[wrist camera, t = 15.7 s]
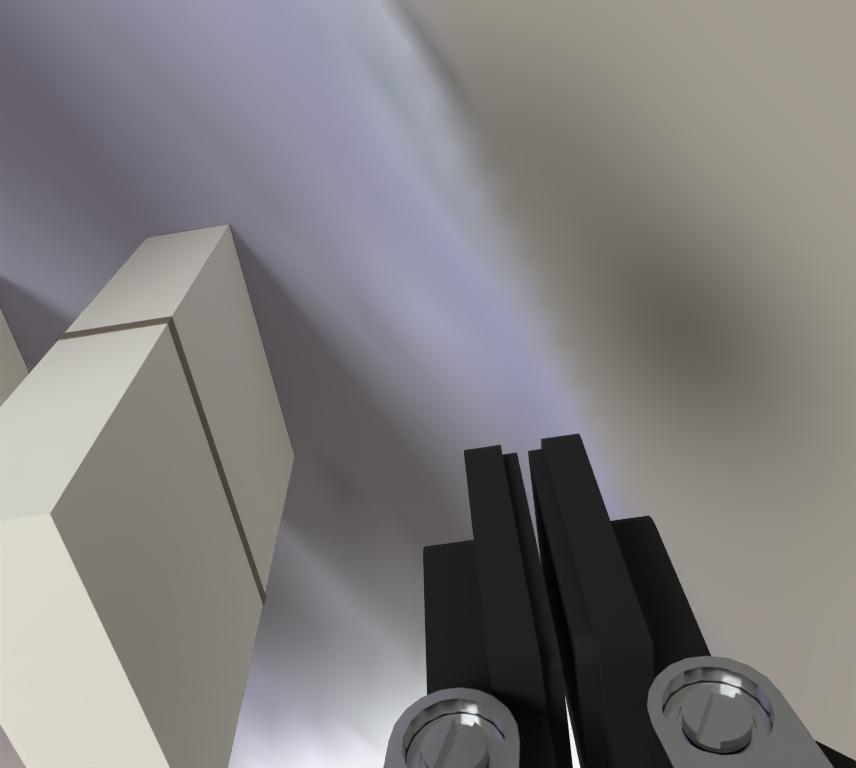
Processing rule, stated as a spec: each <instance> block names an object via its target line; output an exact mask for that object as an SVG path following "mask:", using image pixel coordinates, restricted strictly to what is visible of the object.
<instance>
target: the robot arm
mask: <svg viewBox="0 0 856 768" xmlns="http://www.w3.org/2000/svg"><path fill="white" fill-rule="evenodd" d="M541 447H542V449H539V450H532V451H528V455H529V465H530V473H531V482H532V490H533V499H534V507H535V516H536V525H537V533H538V542H539V550H540V558H539V553H538V549H537V544H536V539H535V535H534V530H533V525H532V521H531V516H530V512H529V507H528V502H527V498H526V493H525V488H524V484H523V479H522V474H521V470H520V465H519V461H518V456H517V453H511V454H504V455H502V450H501V445H496V446H489V447H483V448H476V449H469V450H464V457H465V466H466V474H467V483H468V492H469V501H470V510H471V519H472V527H473V536H474V540H469V541H462V542H455V543H448V544H441V545H433V546H426V547H424V550H423V564H424V599H425V634H426V669H427V696H424V697H422V698H420V699H419V700H418V701H416V702H415V703H414V704H412V705H411V706H410V707H408V708H407V709H406V710H405V711H404V713H403V714H402V715H401V717H400V718H399V719H398V721H397V722H396V723H395V725H394V728H393V731H392V733H391V736H390V739H389V742H388V747H387V752H386V758H385V763H384V768H573V765H572V756H571V747H570V738H569V729H568V720H567V711H566V702H567V707H568V711H569V716H570V721H571V726H572V730H573V735H574V740H575V745H576V749H577V754H578V759H579V764H580V768H856V761H855V760H853V759H851V758H849V757H847V756H845V755H843V754H841V753H839V752H837V751H835V750H833V749H831V748H829V747H827V746H825V745H823V744H821V743H819V742H817V741H815V740H814V739H813V738H812V736H811V735H810V733H809V732H808V731H807V729H806V727H805V726H804V725H803V723H802V722H801V720H800V719H799V718H798V716H797V715H796V713H795V712H794V711H793V709H792V708H791V706H790V705H789V703H788V702H787V700H786V699H785V698H784V696H783V695H782V693H781V692H780V691H779V690H778V689H777V688H776V687H775V685H774V684H773V683H772V682H771V681H770V680H769V679H768V678H767V677H766V676H764V675H762V674H761V673H760V672H758V671H756V670H755V669H753V668H752V667H750V666H748V665H746V664H743V663H740V662H737V661H734V660H731V659H729V658H722V657H713V656H711V654H710V652H709V650H708V647H707V645H706V643H705V640H704V638H703V636H702V633H701V631H700V629H699V626H698V624H697V622H696V619H695V617H694V615H693V612H692V610H691V607H690V605H689V603H688V600H687V598H686V596H685V593H684V591H683V589H682V586H681V584H680V582H679V579H678V577H677V575H676V572H675V570H674V568H673V565H672V563H671V560H670V558H669V556H668V553H667V551H666V549H665V546H664V544H663V542H662V539H661V537H660V535H659V532H658V530H657V528H656V525H655V523H654V521H653V520H652V518H651V517H650V516H643V517H636V518H629V519H621V520H614V521H610V519H609V516H608V513H607V510H606V507H605V505H604V502H603V499H602V496H601V493H600V490H599V488H598V485H597V482H596V479H595V476H594V473H593V470H592V468H591V465H590V462H589V459H588V456H587V453H586V450H585V448H584V445H583V442H582V439H581V437H580V434H573V435H566V436H559V437H552V438H545V439H541ZM540 559H541V562H540ZM565 697H566V702H565Z"/></svg>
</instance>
